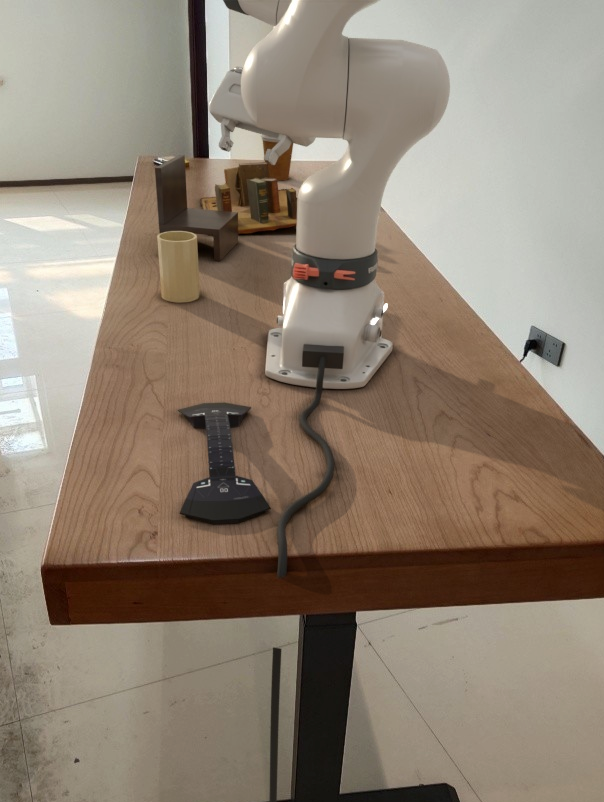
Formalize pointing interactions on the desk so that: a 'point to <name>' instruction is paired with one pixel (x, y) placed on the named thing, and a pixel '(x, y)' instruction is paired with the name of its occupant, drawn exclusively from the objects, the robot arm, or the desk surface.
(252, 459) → the desk surface
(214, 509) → the dark piece
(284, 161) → the disposable coffee cup
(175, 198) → the dark grey toy chair
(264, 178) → the book stand
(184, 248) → the cup
